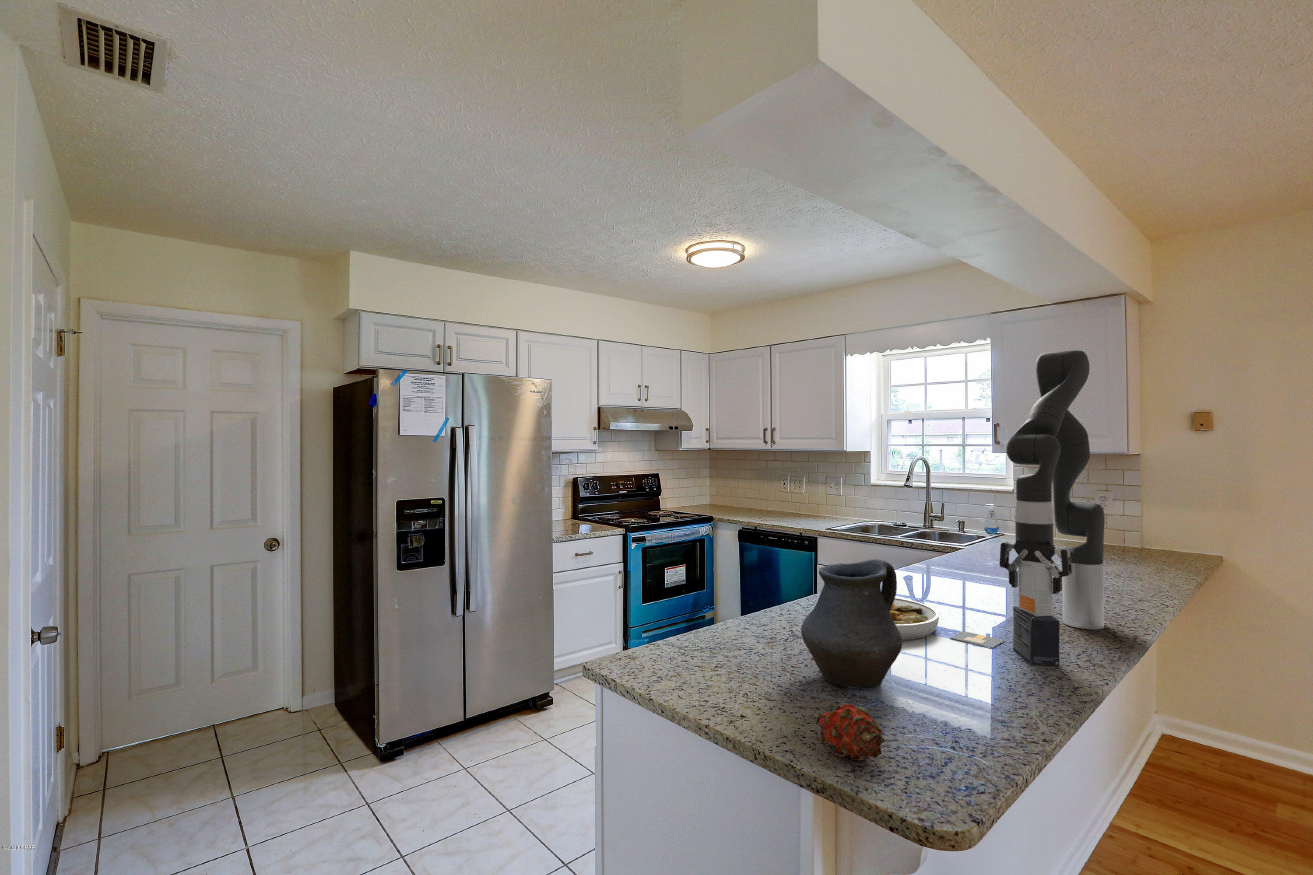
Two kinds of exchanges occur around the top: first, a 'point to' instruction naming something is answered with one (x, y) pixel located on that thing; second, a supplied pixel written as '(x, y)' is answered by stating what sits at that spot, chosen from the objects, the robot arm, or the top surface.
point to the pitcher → (854, 624)
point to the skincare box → (1035, 588)
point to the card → (977, 639)
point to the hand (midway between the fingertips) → (1034, 590)
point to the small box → (1036, 638)
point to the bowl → (913, 618)
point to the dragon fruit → (851, 732)
